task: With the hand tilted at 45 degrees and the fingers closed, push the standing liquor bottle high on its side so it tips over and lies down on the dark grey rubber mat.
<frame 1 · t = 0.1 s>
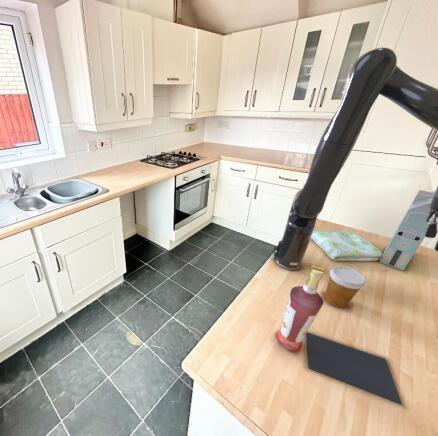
hand: (434, 243, 76), 22 cm above the counter, tool pointing down, fingers open, 8 cm apart
liquor: (287, 342, 72), on the counter
device: (394, 258, 105), on the counter
towel: (341, 249, 111), on the counter
disposable coffee cup: (335, 300, 85), on the counter
mat: (347, 363, 66), on the counter
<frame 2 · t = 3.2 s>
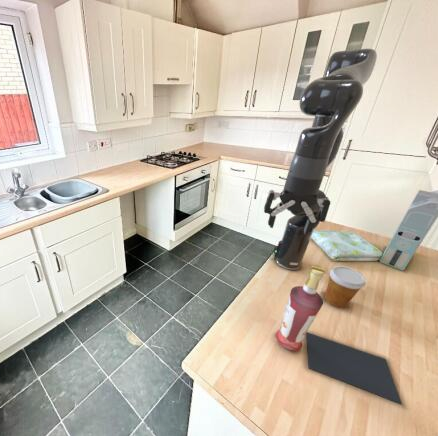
hand: (287, 229, 67), 32 cm above the counter, tool pointing down, fingers open, 8 cm apart
nothing on the counter moved.
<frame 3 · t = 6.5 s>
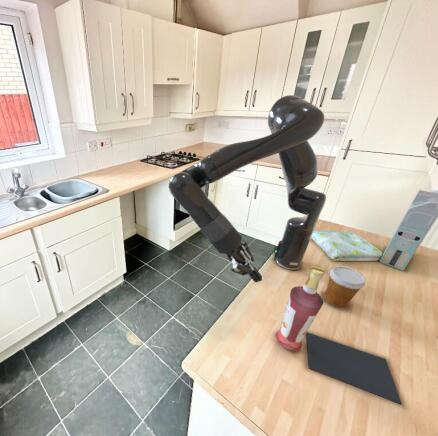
hand: (259, 279, 67), 20 cm above the counter, tool tilted 45°, fingers closed
nothing on the counter moved.
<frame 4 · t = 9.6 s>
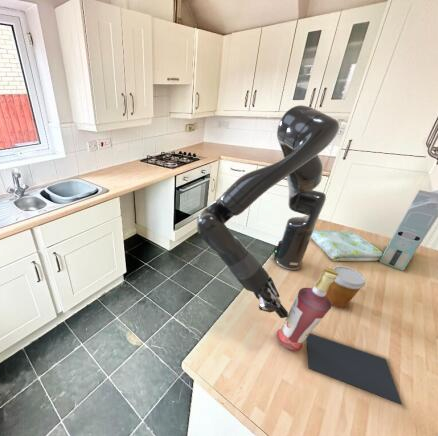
hand: (284, 315, 68), 10 cm above the counter, tool tilted 45°, fingers closed
liquor: (287, 342, 72), on the counter, touching gripper
everything else where it was.
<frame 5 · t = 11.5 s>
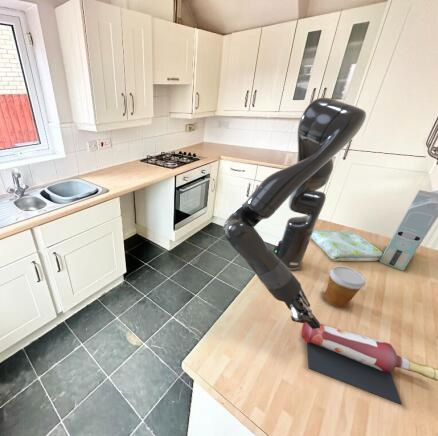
hand: (316, 326, 65), 10 cm above the counter, tool tilted 45°, fingers closed
liquor: (302, 328, 72), point 3 cm above the counter, touching mat
everything else where it was.
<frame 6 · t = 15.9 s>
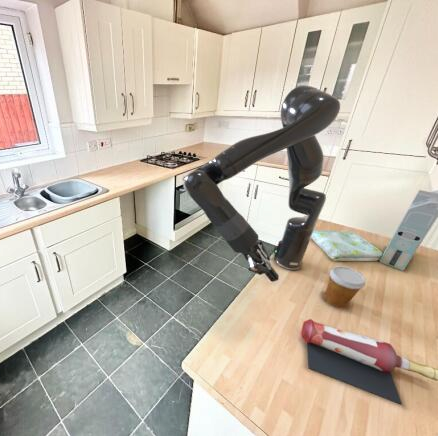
hand: (275, 279, 66), 21 cm above the counter, tool tilted 45°, fingers closed
nothing on the counter moved.
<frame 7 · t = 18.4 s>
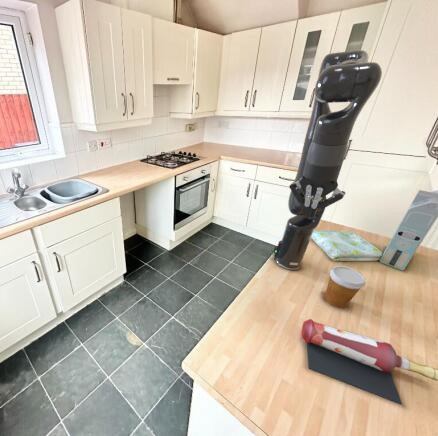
hand: (308, 216, 69), 34 cm above the counter, tool pointing down, fingers closed
nothing on the counter moved.
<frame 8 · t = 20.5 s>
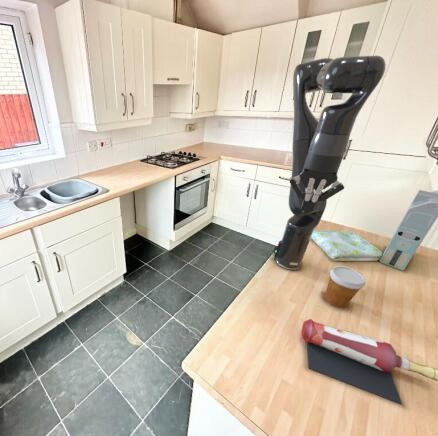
hand: (305, 212, 69), 35 cm above the counter, tool pointing down, fingers closed
nothing on the counter moved.
at the end: liquor tilted 88°; liquor touching mat; liquor inside the target area (5.2 cm from its centre), point 3.5 cm above the counter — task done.
